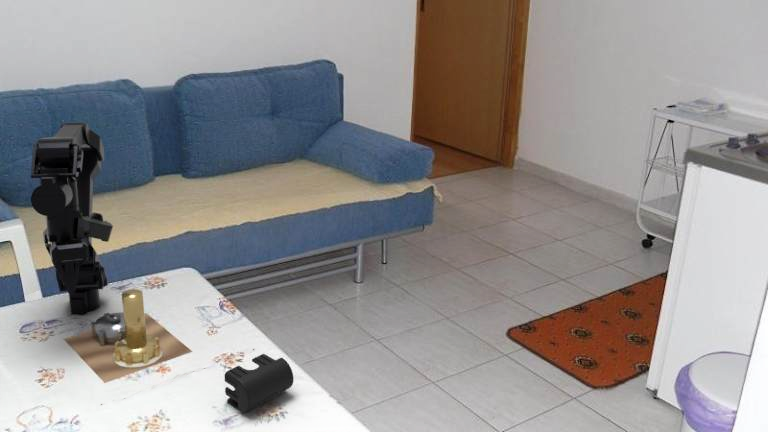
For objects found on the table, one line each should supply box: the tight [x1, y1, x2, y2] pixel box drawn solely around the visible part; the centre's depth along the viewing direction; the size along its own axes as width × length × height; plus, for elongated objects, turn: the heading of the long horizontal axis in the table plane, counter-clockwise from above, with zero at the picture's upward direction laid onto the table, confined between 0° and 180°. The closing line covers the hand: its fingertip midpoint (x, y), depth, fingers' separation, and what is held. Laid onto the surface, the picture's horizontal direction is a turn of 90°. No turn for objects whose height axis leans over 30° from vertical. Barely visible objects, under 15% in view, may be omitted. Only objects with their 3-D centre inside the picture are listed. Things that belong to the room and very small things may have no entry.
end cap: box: [224, 353, 295, 413], centre depth 132 cm, size 10×7×7 cm
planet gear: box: [114, 288, 160, 365], centre depth 141 cm, size 8×8×12 cm
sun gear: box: [90, 312, 126, 347], centre depth 149 cm, size 9×8×4 cm
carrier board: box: [63, 312, 193, 384], centre depth 147 cm, size 20×17×2 cm
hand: (68, 286), depth 145 cm, fingers open, 9 cm apart
